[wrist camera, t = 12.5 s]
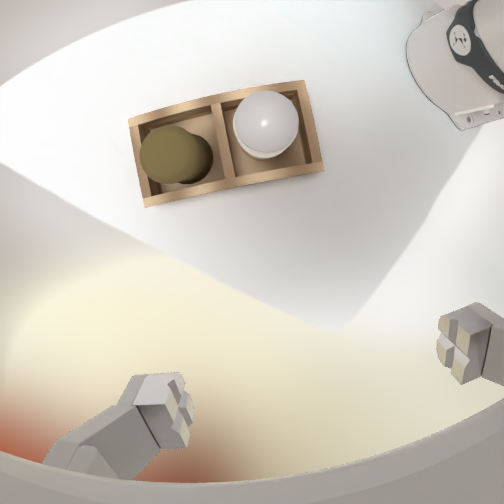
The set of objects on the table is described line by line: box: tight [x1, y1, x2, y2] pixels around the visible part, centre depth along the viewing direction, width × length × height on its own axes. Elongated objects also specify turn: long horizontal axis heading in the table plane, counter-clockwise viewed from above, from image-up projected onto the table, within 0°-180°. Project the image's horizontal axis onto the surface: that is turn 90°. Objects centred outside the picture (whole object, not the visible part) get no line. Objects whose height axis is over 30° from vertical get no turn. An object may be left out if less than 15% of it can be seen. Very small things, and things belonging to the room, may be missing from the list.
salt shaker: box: [233, 91, 299, 161], centre depth 29 cm, size 6×6×10 cm
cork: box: [140, 125, 213, 184], centre depth 29 cm, size 6×6×11 cm
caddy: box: [128, 80, 324, 208], centre depth 32 cm, size 19×10×5 cm, turn 101°
